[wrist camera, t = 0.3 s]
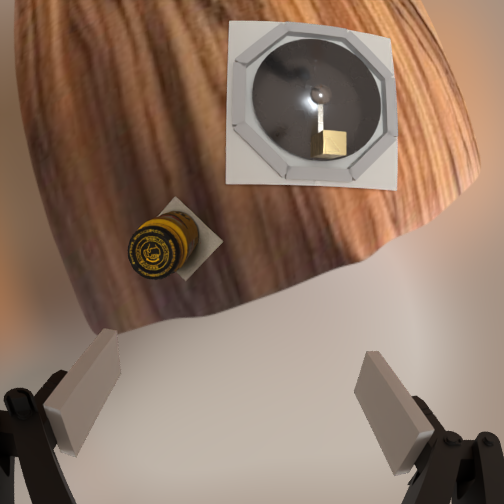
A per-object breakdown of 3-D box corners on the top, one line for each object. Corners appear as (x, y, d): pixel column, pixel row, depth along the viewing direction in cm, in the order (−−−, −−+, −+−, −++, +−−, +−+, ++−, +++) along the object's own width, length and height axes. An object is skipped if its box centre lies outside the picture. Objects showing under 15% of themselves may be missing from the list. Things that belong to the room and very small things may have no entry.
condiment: (175, 196, 40) (149, 202, 28) (223, 241, 41) (216, 265, 29) (139, 237, 41) (103, 258, 29) (186, 280, 42) (166, 317, 30)
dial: (252, 38, 33) (254, 12, 26) (373, 51, 34) (396, 31, 27) (251, 159, 37) (253, 153, 30) (378, 165, 37) (404, 164, 30)
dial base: (229, 27, 35) (228, 15, 31) (384, 43, 35) (394, 34, 32) (226, 183, 39) (225, 184, 36) (390, 190, 40) (402, 191, 37)
